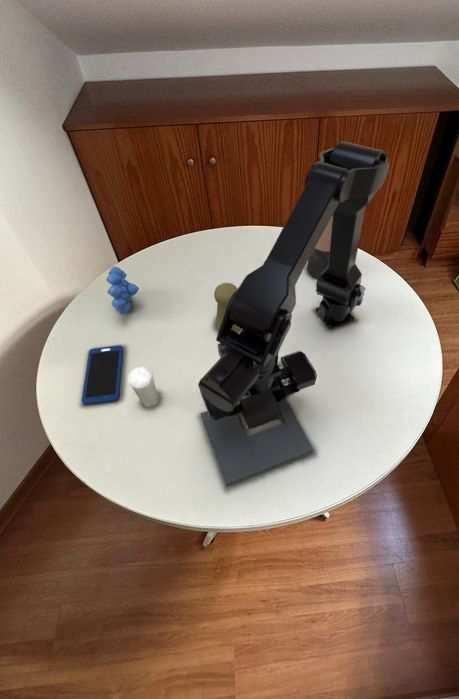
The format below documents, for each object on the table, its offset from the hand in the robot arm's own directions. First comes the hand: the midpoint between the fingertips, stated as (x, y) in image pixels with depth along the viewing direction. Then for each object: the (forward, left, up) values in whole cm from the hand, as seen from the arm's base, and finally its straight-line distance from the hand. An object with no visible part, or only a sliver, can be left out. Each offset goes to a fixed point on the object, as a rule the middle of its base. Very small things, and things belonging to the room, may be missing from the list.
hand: (258, 408), depth 67 cm
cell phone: (+26, -21, -3) cm, 33 cm away
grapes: (+17, -38, -3) cm, 42 cm away
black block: (0, 0, -1) cm, 1 cm away
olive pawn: (-3, -24, -3) cm, 24 cm away
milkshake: (+18, -11, -3) cm, 21 cm away
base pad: (+2, +3, -3) cm, 5 cm away
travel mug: (-31, -32, -3) cm, 44 cm away
